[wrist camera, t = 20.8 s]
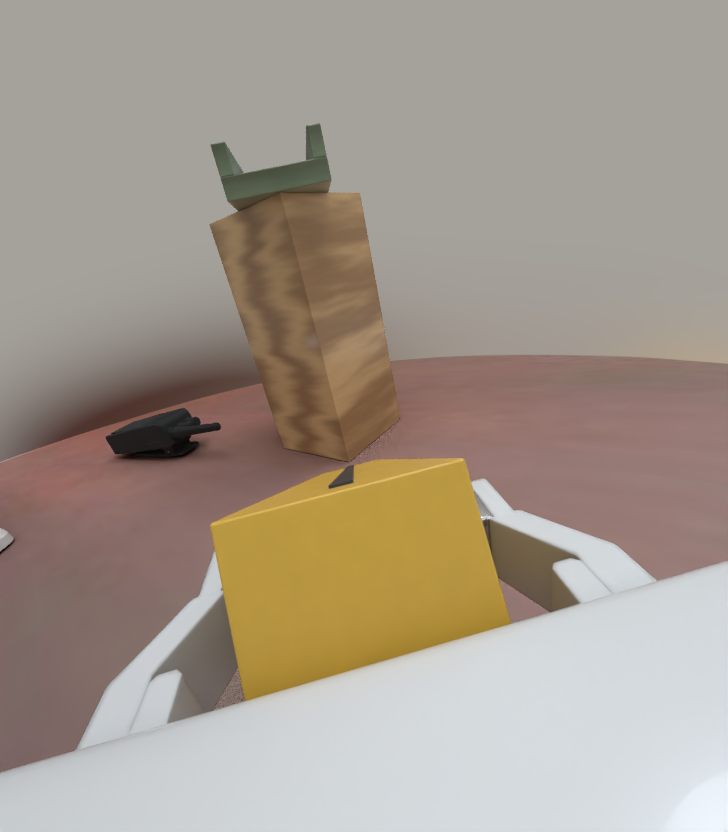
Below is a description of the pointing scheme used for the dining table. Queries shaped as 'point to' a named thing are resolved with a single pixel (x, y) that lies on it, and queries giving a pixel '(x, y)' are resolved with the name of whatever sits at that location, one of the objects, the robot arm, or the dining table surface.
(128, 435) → the walkie-talkie
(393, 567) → the pencil case
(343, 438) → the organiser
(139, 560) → the dining table surface
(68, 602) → the dining table surface
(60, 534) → the dining table surface
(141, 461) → the dining table surface
